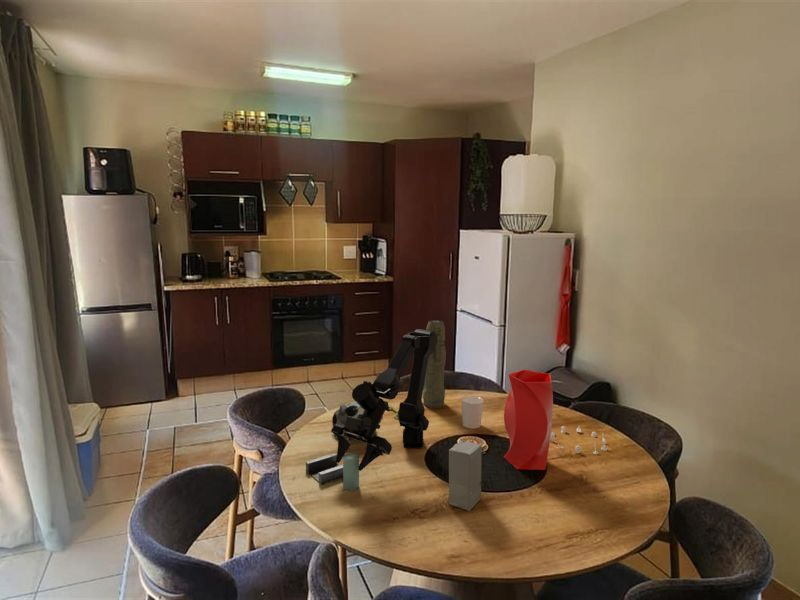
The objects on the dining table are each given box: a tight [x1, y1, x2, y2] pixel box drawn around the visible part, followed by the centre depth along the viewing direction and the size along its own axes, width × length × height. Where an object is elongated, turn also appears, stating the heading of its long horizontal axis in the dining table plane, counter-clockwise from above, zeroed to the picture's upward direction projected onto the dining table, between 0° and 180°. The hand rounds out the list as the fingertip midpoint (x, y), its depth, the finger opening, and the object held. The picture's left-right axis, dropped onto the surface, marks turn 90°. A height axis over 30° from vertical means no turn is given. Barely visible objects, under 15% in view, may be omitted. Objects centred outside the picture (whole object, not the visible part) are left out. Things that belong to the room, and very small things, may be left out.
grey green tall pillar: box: [422, 319, 447, 409], centre depth 209 cm, size 9×12×35 cm
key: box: [388, 404, 399, 421], centre depth 200 cm, size 7×12×2 cm, turn 49°
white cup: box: [461, 395, 484, 430], centre depth 190 cm, size 8×8×10 cm
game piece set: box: [550, 425, 609, 455], centre depth 178 cm, size 19×20×4 cm
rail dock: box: [305, 452, 343, 485], centre depth 154 cm, size 10×10×3 cm
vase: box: [503, 369, 554, 471], centre depth 161 cm, size 15×14×28 cm
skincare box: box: [448, 439, 483, 512], centre depth 139 cm, size 8×7×16 cm
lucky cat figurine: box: [331, 401, 384, 438], centre depth 180 cm, size 17×14×16 cm
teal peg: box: [342, 452, 360, 491], centre depth 146 cm, size 4×4×9 cm
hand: (348, 466), depth 145 cm, fingers open, 8 cm apart
